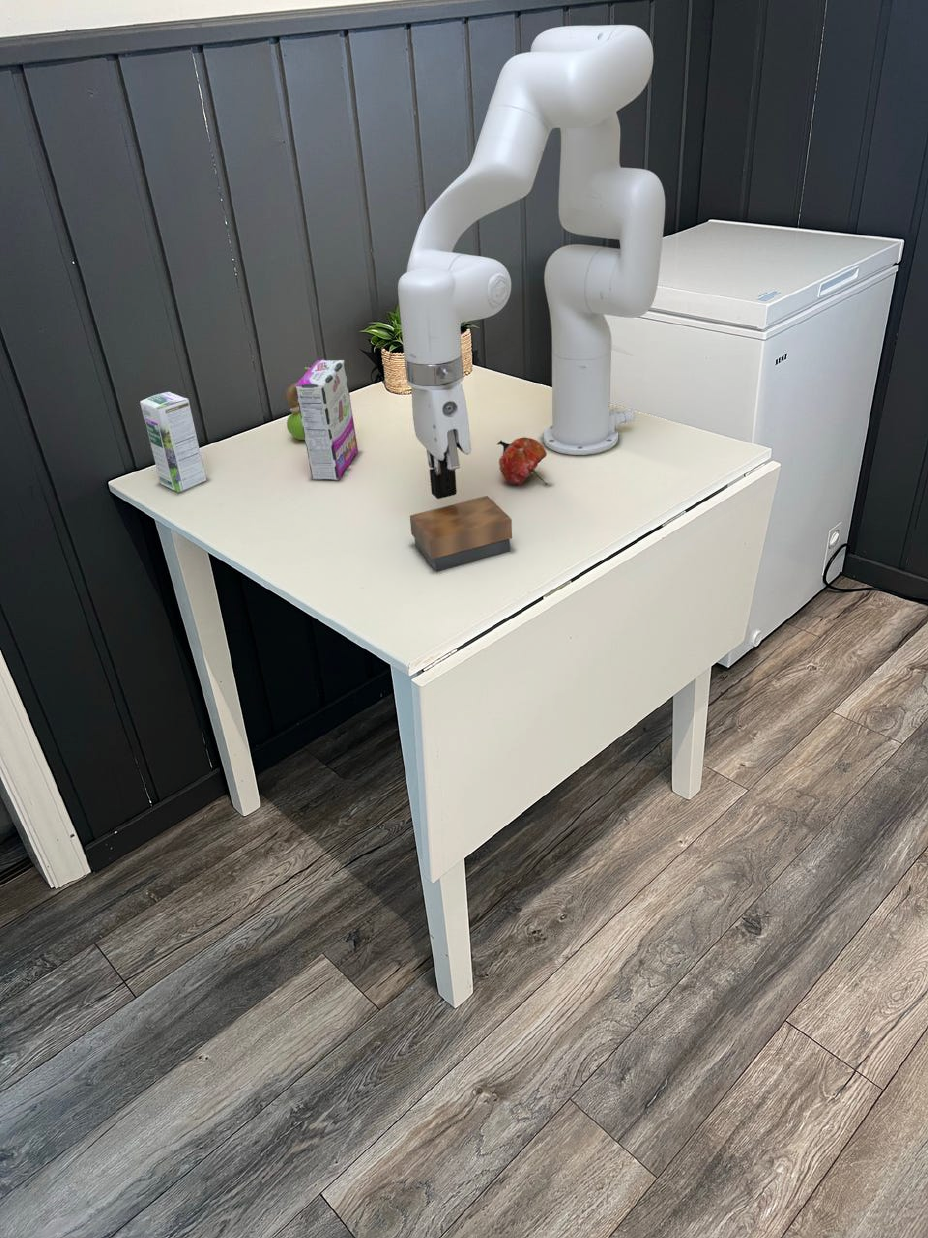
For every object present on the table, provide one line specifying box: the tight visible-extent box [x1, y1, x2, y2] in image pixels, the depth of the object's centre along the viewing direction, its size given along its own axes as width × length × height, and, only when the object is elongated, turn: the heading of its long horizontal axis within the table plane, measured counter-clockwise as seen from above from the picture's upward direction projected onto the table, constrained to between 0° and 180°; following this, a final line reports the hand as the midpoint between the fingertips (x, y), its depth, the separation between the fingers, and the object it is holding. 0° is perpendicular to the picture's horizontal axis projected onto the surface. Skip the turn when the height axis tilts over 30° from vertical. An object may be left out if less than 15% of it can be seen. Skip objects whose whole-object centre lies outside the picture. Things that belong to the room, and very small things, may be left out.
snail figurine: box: [285, 366, 311, 441], centre depth 165 cm, size 5×6×12 cm
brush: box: [409, 495, 513, 572], centre depth 132 cm, size 12×5×8 cm
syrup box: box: [139, 391, 207, 493], centre depth 152 cm, size 6×6×14 cm
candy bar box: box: [295, 359, 359, 481], centre depth 154 cm, size 11×5×16 cm, turn 168°
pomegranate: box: [497, 436, 548, 486], centre depth 148 cm, size 7×7×10 cm
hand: (444, 494), depth 134 cm, fingers closed
